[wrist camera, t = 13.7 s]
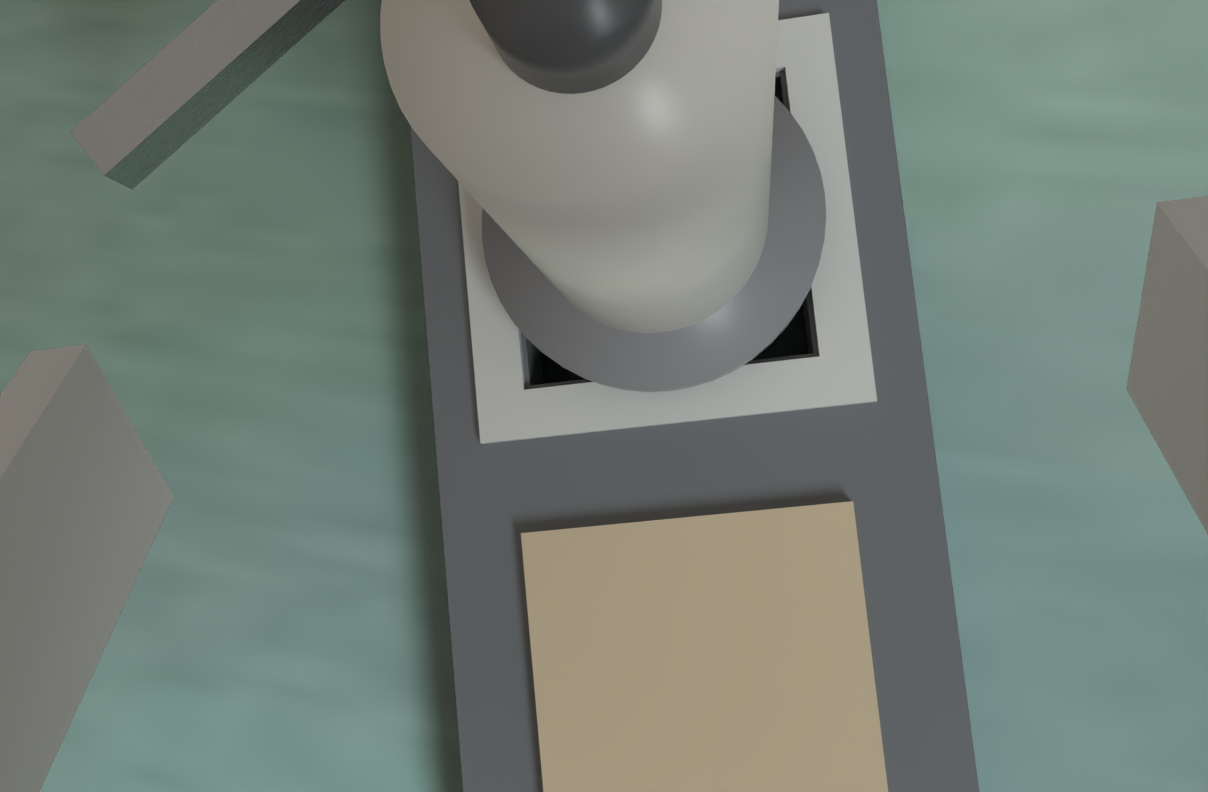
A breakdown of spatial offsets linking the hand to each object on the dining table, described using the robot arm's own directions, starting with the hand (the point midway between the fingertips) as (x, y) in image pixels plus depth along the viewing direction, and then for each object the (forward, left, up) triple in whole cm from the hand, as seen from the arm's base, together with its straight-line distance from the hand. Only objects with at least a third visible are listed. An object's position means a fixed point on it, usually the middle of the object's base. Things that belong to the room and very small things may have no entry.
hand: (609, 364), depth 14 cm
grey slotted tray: (0, -4, -10) cm, 11 cm away
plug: (0, -4, -10) cm, 11 cm away
